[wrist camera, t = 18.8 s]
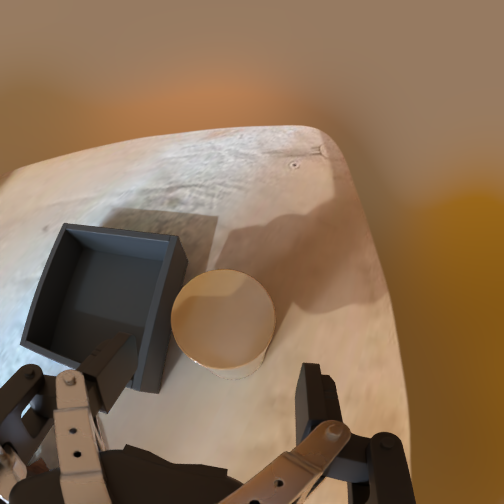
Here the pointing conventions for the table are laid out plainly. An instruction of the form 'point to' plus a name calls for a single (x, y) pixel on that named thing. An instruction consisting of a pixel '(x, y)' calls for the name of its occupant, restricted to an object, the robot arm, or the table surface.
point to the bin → (107, 297)
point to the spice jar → (224, 322)
